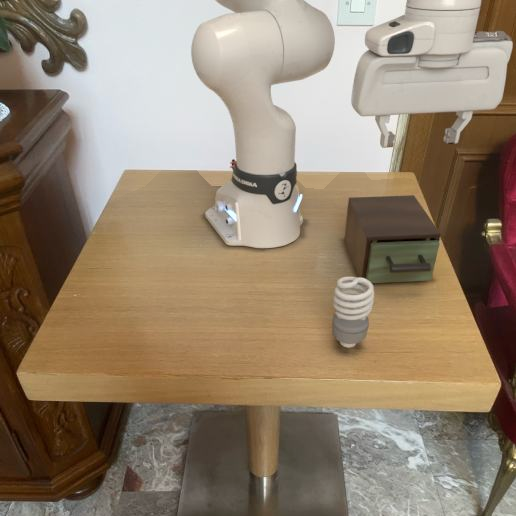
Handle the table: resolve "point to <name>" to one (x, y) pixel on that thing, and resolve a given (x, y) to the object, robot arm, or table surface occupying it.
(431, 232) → the cabinet
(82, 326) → the table surface
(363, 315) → the light bulb
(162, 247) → the table surface
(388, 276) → the drawer
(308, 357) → the table surface
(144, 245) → the table surface
